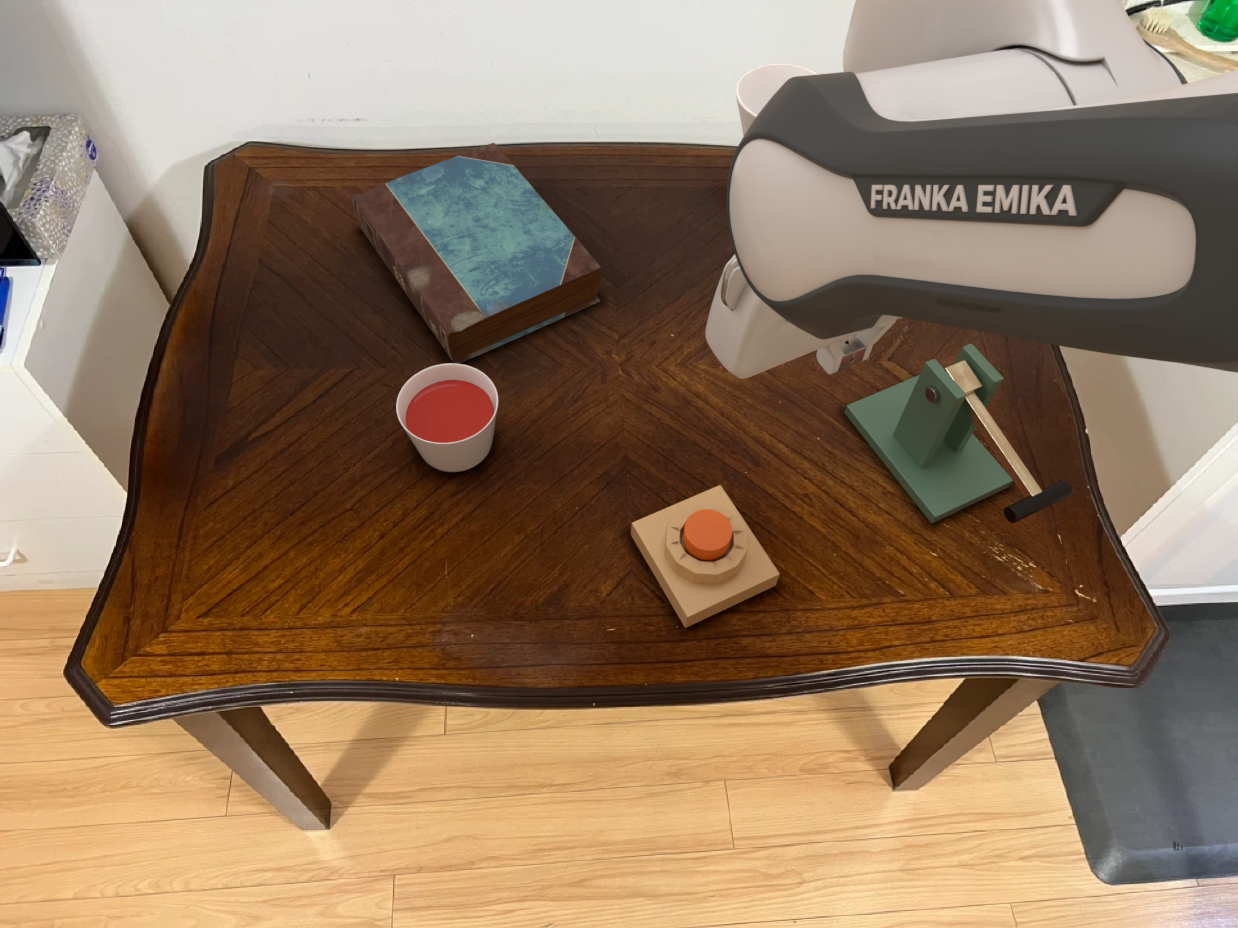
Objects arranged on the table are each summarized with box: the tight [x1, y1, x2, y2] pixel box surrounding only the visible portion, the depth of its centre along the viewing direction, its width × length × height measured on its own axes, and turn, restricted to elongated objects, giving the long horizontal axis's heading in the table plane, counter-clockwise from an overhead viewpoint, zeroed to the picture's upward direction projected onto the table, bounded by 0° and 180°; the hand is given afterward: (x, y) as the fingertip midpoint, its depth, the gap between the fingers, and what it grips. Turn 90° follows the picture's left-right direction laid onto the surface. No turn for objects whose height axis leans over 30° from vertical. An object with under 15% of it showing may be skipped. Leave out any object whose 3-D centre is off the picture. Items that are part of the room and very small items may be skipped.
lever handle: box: [944, 360, 1073, 524], centre depth 80 cm, size 14×6×2 cm, turn 27°
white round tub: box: [395, 362, 499, 473], centre depth 87 cm, size 9×9×6 cm
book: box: [350, 142, 602, 364], centre depth 101 cm, size 23×18×5 cm
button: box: [683, 509, 732, 560], centre depth 80 cm, size 4×4×2 cm
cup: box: [735, 63, 819, 137], centre depth 104 cm, size 10×10×14 cm
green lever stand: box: [843, 343, 1014, 524], centre depth 86 cm, size 14×9×12 cm, turn 27°
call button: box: [630, 484, 781, 629], centre depth 82 cm, size 10×9×4 cm
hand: (840, 360), depth 62 cm, fingers closed
